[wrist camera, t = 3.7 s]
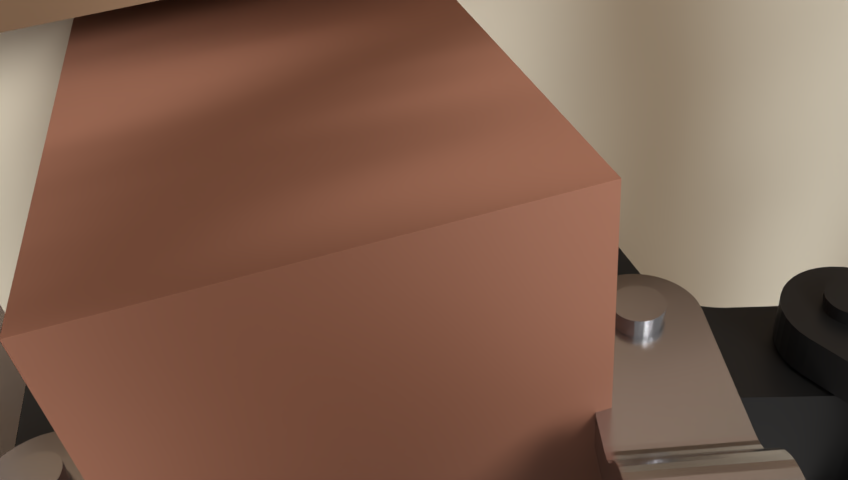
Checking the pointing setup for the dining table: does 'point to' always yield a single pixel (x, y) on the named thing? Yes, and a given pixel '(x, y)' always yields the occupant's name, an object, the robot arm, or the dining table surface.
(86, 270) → the reddish-brown block with stick
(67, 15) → the board
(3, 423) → the dining table surface
